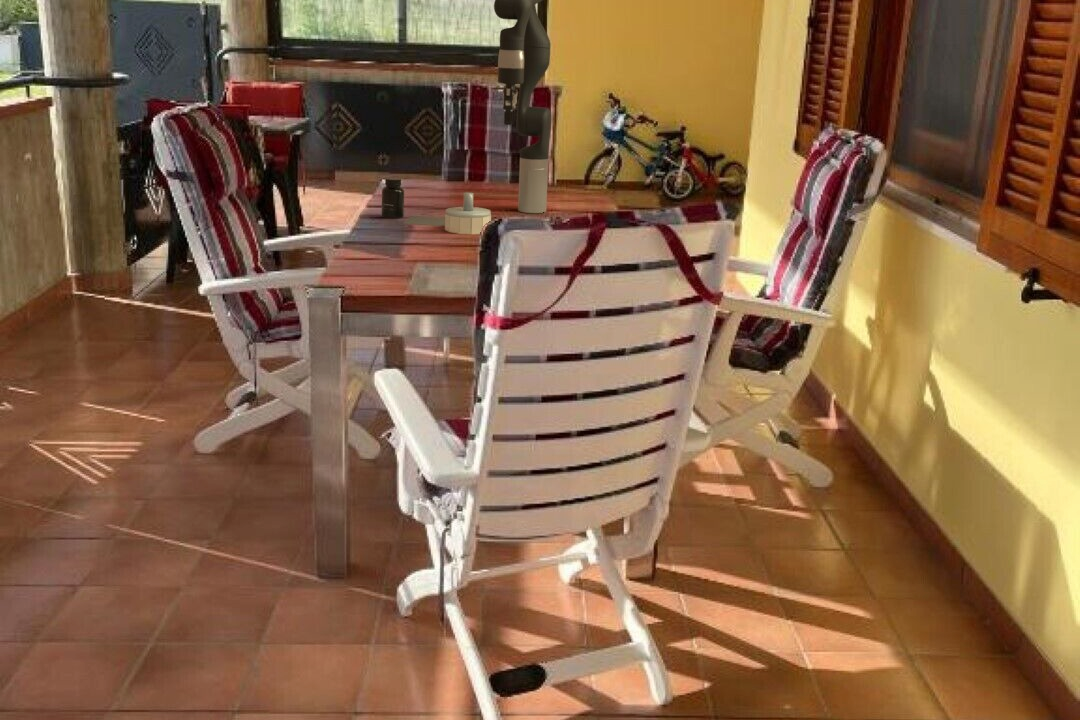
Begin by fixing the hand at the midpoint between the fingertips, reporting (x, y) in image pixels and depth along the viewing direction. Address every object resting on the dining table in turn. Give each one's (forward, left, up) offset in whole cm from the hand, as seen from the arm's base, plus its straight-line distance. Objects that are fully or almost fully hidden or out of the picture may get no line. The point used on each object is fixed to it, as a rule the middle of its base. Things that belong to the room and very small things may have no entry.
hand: (509, 123), depth 310 cm
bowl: (+13, -10, -30) cm, 34 cm away
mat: (+2, -23, -30) cm, 38 cm away
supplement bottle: (-2, -35, -30) cm, 46 cm away
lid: (+13, -10, -25) cm, 30 cm away
